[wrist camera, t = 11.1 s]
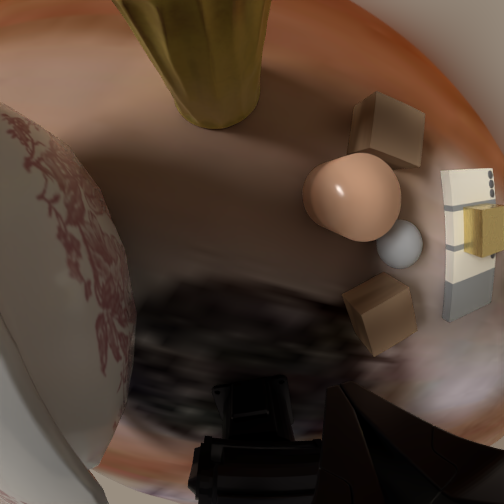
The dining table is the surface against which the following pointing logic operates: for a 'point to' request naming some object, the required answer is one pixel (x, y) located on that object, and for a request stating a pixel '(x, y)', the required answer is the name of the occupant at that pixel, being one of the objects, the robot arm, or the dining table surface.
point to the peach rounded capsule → (353, 196)
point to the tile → (483, 229)
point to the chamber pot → (58, 320)
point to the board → (457, 261)
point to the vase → (204, 53)
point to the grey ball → (400, 245)
